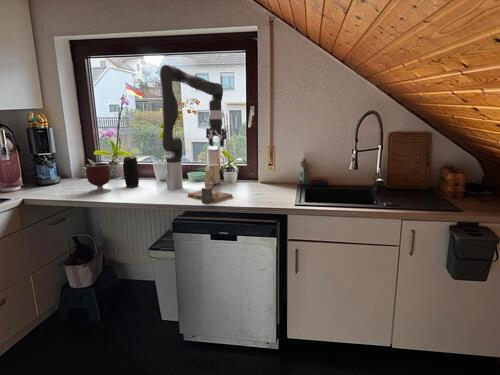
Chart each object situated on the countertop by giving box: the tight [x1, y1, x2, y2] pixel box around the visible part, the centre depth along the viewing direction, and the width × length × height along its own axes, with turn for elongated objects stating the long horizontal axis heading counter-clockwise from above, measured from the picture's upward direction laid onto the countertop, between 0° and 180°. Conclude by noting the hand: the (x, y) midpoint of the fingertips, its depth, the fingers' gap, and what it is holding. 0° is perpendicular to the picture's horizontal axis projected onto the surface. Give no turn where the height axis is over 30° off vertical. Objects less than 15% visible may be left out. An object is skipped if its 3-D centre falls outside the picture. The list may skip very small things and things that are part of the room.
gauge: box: [201, 187, 219, 205], centre depth 195 cm, size 4×10×8 cm, turn 141°
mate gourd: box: [85, 158, 112, 195], centre depth 222 cm, size 16×14×20 cm
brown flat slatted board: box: [187, 189, 233, 203], centre depth 206 cm, size 22×14×2 cm, turn 51°
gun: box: [204, 163, 221, 188], centre depth 235 cm, size 24×3×15 cm, turn 168°
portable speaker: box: [122, 156, 140, 189], centre depth 235 cm, size 9×9×20 cm
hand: (216, 146), depth 212 cm, fingers open, 8 cm apart
